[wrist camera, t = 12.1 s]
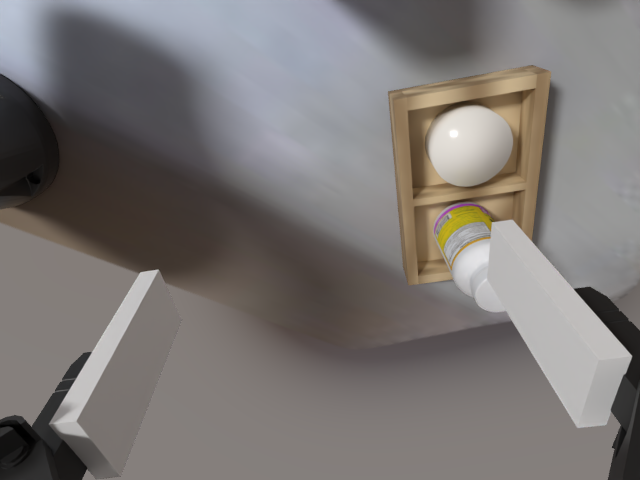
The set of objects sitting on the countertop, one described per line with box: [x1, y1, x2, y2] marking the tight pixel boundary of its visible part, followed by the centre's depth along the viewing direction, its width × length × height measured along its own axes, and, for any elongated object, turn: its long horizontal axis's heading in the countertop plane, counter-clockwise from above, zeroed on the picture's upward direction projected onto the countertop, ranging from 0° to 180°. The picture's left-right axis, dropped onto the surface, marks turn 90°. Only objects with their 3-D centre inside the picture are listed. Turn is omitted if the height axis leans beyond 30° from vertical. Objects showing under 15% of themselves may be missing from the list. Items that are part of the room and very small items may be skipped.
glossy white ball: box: [425, 101, 513, 187], centre depth 40 cm, size 8×8×4 cm
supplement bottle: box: [433, 202, 506, 312], centre depth 42 cm, size 7×7×13 cm
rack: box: [388, 65, 551, 285], centre depth 44 cm, size 14×22×4 cm, turn 10°
